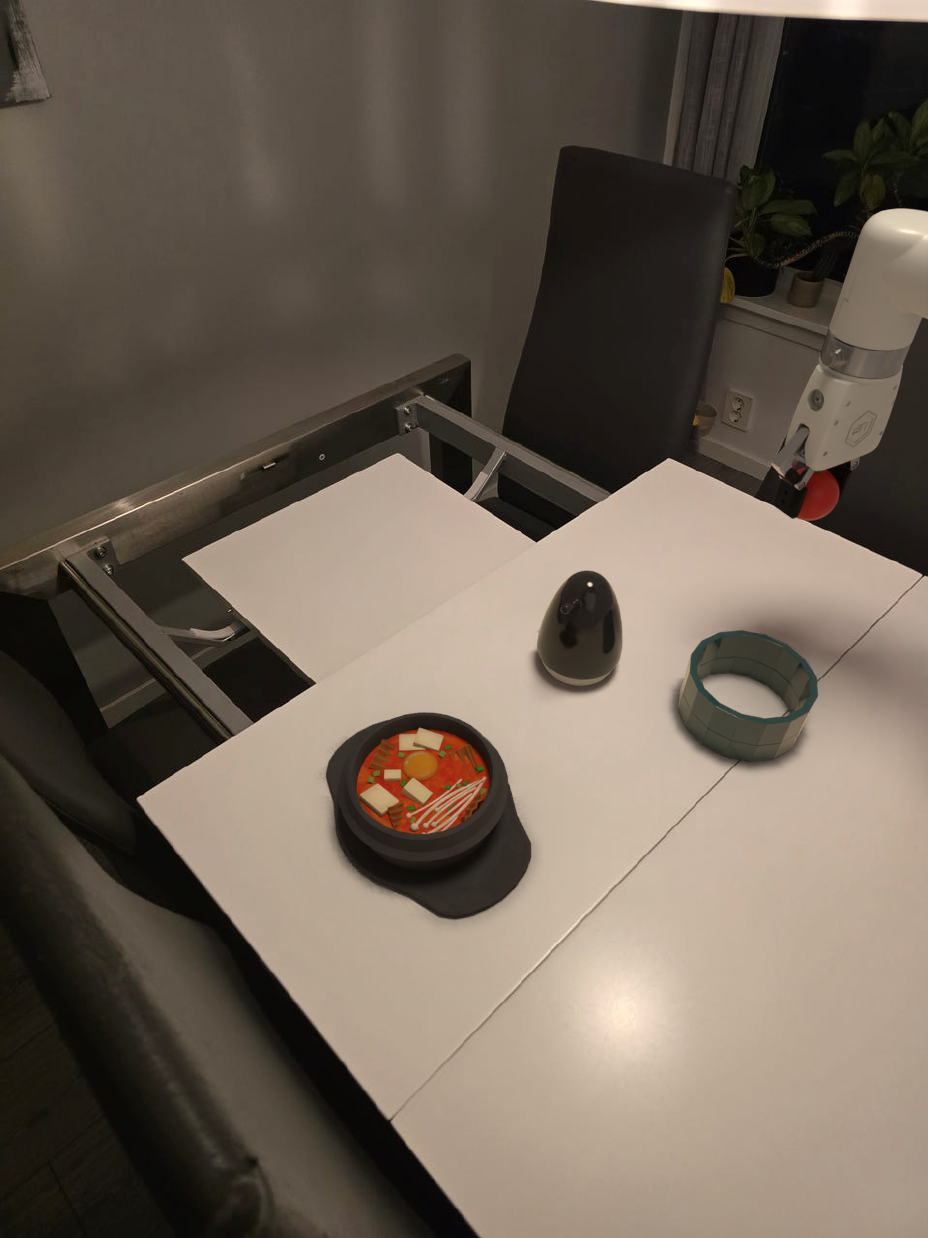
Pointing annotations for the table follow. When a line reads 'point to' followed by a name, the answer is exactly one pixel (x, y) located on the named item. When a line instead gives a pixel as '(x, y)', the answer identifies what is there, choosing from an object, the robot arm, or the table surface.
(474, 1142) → the table surface
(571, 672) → the black egg shape
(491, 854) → the casserole
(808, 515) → the tomato
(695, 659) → the green cylindrical ring
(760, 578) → the table surface
